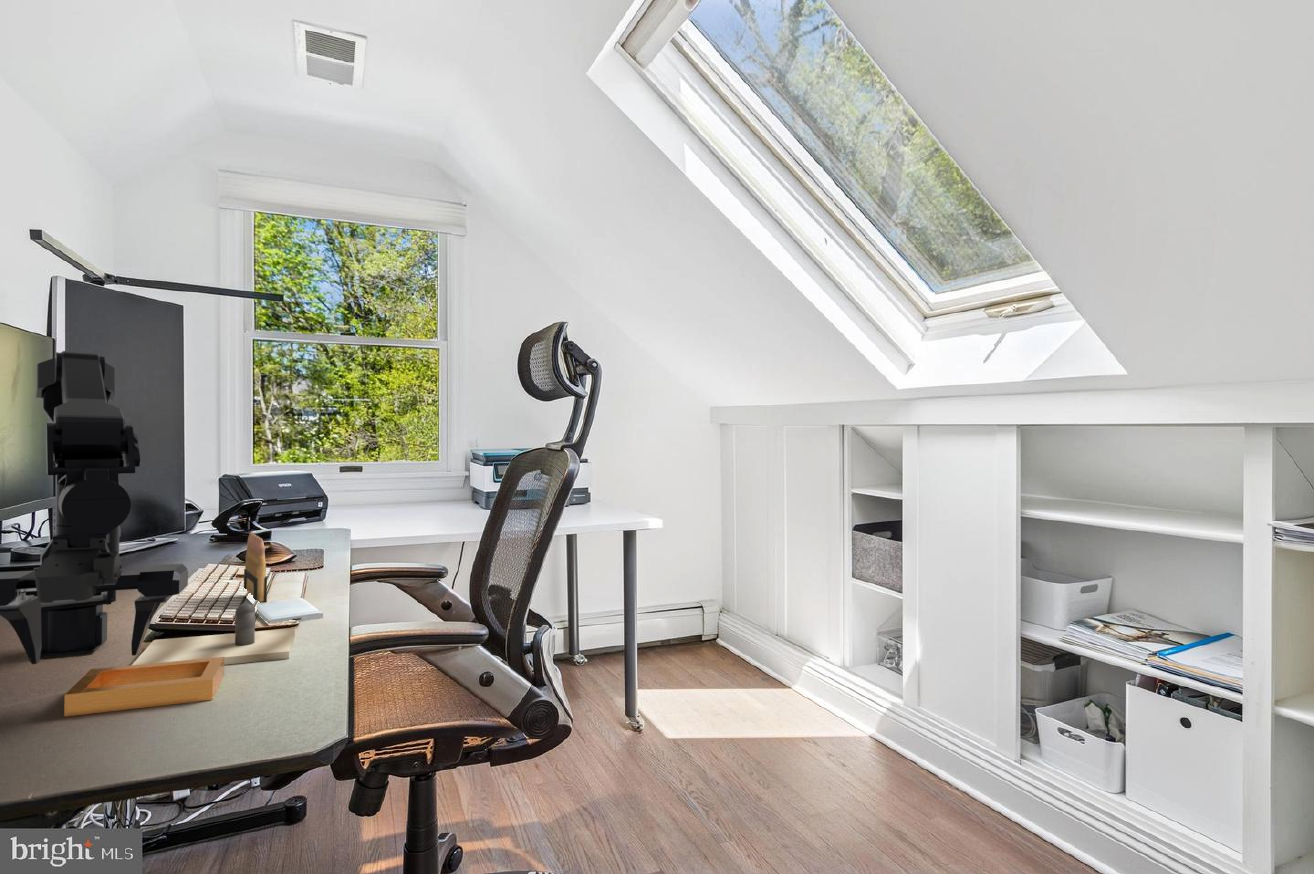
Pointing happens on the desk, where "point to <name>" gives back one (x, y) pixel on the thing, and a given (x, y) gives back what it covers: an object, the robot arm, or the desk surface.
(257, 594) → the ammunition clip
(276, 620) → the hard drive
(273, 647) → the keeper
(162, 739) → the desk surface
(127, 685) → the shallow wooden tray
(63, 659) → the desk surface
